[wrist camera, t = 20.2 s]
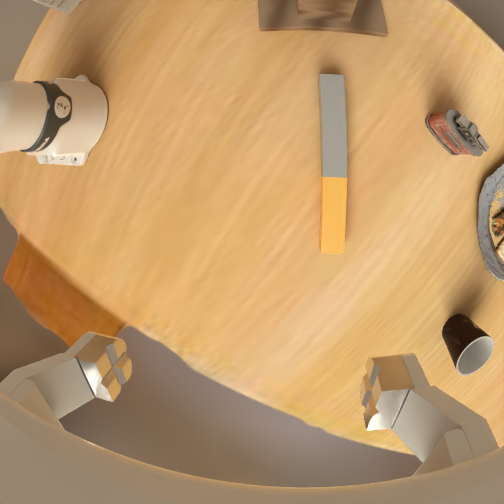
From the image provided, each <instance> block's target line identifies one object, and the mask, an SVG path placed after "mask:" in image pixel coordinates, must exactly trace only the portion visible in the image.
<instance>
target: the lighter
mask: <svg viewBox="0 0 504 504" xmlns="http://www.w3.org/2000/svg"><path fill="white" fill-rule="evenodd" d="M425 124H426V126H427V128H428V129H429V131H430V132H431V134H432V135H433V136H434V137H435V139H436V140H437V141H438V142H439V143H440V144H441V145H442V146H443V147H444V148H445V149H446V150H447V151H448V152H449V153H451V154H452V155H459V154H468V155H473V156H481V155H482V154H483V152H487V151H488V149H489V146H488V144H487V143H486V142H485V140H484V139H483V138H482V136H481V135H480V134H479V132H478V128H477V126H476V125H475V124H474V123H472V122H471V121H469V120H468V119H467V117H466V116H465V115H461V114H460V113H459V112H458V111H456V110H455V109H450V110H447V111H446V112H443V113H440V114H436V115H434V114H432V115H429V116H427V117H426V119H425Z"/></svg>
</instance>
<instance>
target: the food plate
mask: <svg viewBox="0 0 504 504" xmlns="http://www.w3.org/2000/svg"><path fill="white" fill-rule="evenodd" d="M502 175H503V176H502ZM502 183H503V184H502ZM500 184H501V186H499V185H500ZM503 185H504V163H503V164H502V165H501V166H500V167H499V168H498V169H496V171H495V172H494V174H492V175H490V176H488V177H487V178H486V180H485V182H484V185H483V187H482V191H481V193H480V197H479V202H478V203H479V207H478V212H479V216H478V237H479V242H480V243H479V244H480V248H481V251H482V254H483V259H484V261H485V264H486V267H487V270H488V271H489V272H490V273H491V274H492V275H494V277H495V278H497V279H499V280H501V281H504V236H503V239H502V240H501V241H500V242H499V244H498V246H497V247H496V249H495V246H494V243H493V240H492V237H491V233H490V230H489V217H490V209H491V207H492V205H491V203H492V202H494V199H495V198H496V195H494V194H495V193H496V192H497V190H498V192H500V191H501V190H502V193H503V194H504V191H503V189H504V186H503ZM498 186H499V188H500V187H503V189H502V188H500V189H499V188H498ZM496 194H497V195H498V193H496ZM497 201H499V202H500V201H501V205H500V206H501V207H500V210H501V212H500V213H499V214H497V215H496V216H494V217H492V219H493V225H492V231H493V232H494V235H495V237H497V236H501V235H503V234H504V196H503V197H502V198H498V199H497ZM499 202H498V204H499ZM493 207H494V206H493ZM497 210H498V211H499V209H497ZM491 213H492V212H491Z"/></svg>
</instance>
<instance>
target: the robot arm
mask: <svg viewBox="0 0 504 504" xmlns="http://www.w3.org/2000/svg"><path fill="white" fill-rule="evenodd" d="M107 113H108V106H107V100H106V97H105V94H104V92H103V91H102V90H101V89H100V88H99V87H98V86H96V85H94V84H92V83H91V82H90V81H89V79H88V78H87V76H85V75H79V76H78V77H76V78H75V79H69V78H55V80H53V81H52V82H49V81H34V82H24V81H15V80H3V81H0V153H5V152H10V151H17V150H20V151H22V152H26V153H27V154H28V155H36V158H37V160H38V162H39V164H62V165H78V166H82V165H84V164H85V162H86V160H87V157H88V155H89V152H90V150H91V149H92V148H93V147H94V145H95V144H96V143H97V142H98V140H99V139H100V137H101V135H102V133H103V131H104V128H105V125H106V121H107ZM76 158H77V160H76ZM126 349H127V347H126V345H125V342H124V340H122V339H121V338H117V337H112V336H108V335H104V334H98V333H95V332H91V331H90V332H86V333H85V334H84V335H83V336H82V337H81V338H80V339H79V340H78V341H77V342H76V343H74V344H73V345H72V346H71V347H70V348H69V349H68V350H67V351H66V352H65V353H64V354H62V353H60V354H57V355H55V356H52V357H49V358H46V359H44V360H41V361H38V362H35V363H32V364H30V365H27V366H24V367H21V368H18V369H15V370H13V371H12V372H11V373H10V374H9V375H8V376H7V377H6V378H5V379H4V380H3V381H2V382H1V383H0V504H504V446H503V447H501V448H499V447H498V445H497V442H496V440H495V438H494V436H493V433H492V431H491V429H490V427H489V425H488V423H487V421H486V419H485V418H483V417H482V416H480V415H478V414H477V413H475V412H474V411H472V410H471V409H469V408H468V407H466V406H464V405H463V404H461V403H460V402H458V401H457V400H455V399H454V398H452V397H451V396H449V395H448V394H446V393H444V392H443V391H441V390H440V389H438V388H437V387H435V386H430V385H429V383H428V380H427V378H426V376H425V374H424V372H423V370H422V368H421V366H420V364H419V362H418V359H417V357H416V355H415V354H413V353H409V354H400V355H392V356H376V357H369V359H368V360H367V364H366V370H367V374H366V375H365V376H363V379H362V383H361V391H360V395H361V403H362V405H363V406H364V407H365V408H366V409H365V412H364V420H365V426H366V430H378V429H389V428H392V429H391V430H392V431H393V432H394V433H395V434H396V435H397V436H398V437H399V438H400V439H401V440H402V441H403V442H404V443H405V444H406V445H407V446H408V448H409V449H410V450H411V451H412V452H413V453H414V454H415V455H416V456H417V457H418V458H419V459H420V460H421V461H422V462H423V464H422V465H421V466H420V467H419V469H418V470H417V471H416V472H415V473H414V475H413V476H411V477H407V478H402V479H396V480H391V481H385V482H378V483H371V484H362V485H353V486H340V487H317V488H295V487H294V488H293V487H292V488H291V487H271V486H258V485H248V484H239V483H232V482H225V481H219V480H213V479H208V478H202V477H197V476H192V475H188V474H184V473H179V472H175V471H171V470H168V469H164V468H160V467H157V466H153V465H150V464H147V463H143V462H140V461H137V460H134V459H131V458H128V457H126V456H123V455H120V454H117V453H115V452H112V451H109V450H107V449H104V448H102V447H100V446H97V445H95V444H93V443H91V442H88V441H86V440H84V439H82V438H80V437H77V436H75V435H73V434H71V433H69V432H67V431H65V430H64V429H63V426H62V425H61V423H60V422H59V421H58V419H59V418H61V417H63V416H64V415H66V414H68V413H69V412H71V411H73V410H74V409H76V408H78V407H80V406H81V405H83V404H85V403H86V402H88V401H90V400H91V399H93V398H94V396H95V397H98V398H101V399H105V400H108V401H111V402H113V401H114V400H115V398H116V397H117V395H118V394H119V393H120V391H121V385H122V384H124V383H126V382H127V381H128V379H129V378H130V376H131V371H132V363H131V360H130V358H129V356H128V355H127V354H126V353H125V351H126Z"/></svg>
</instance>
